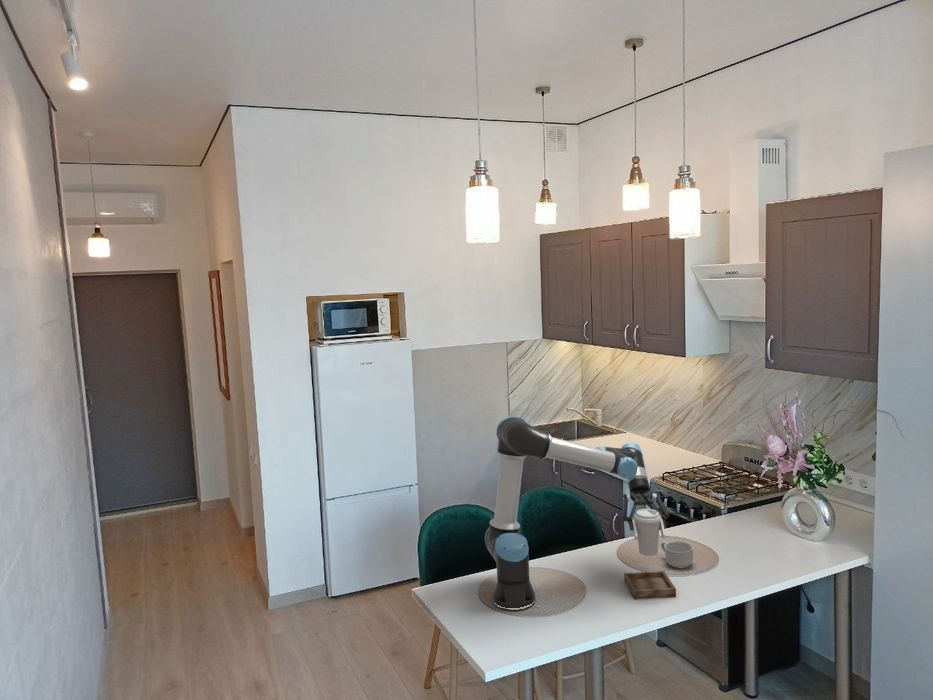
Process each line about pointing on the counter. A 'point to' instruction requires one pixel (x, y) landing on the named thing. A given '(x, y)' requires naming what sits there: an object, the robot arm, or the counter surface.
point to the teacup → (678, 553)
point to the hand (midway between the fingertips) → (650, 537)
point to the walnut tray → (649, 585)
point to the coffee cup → (648, 531)
